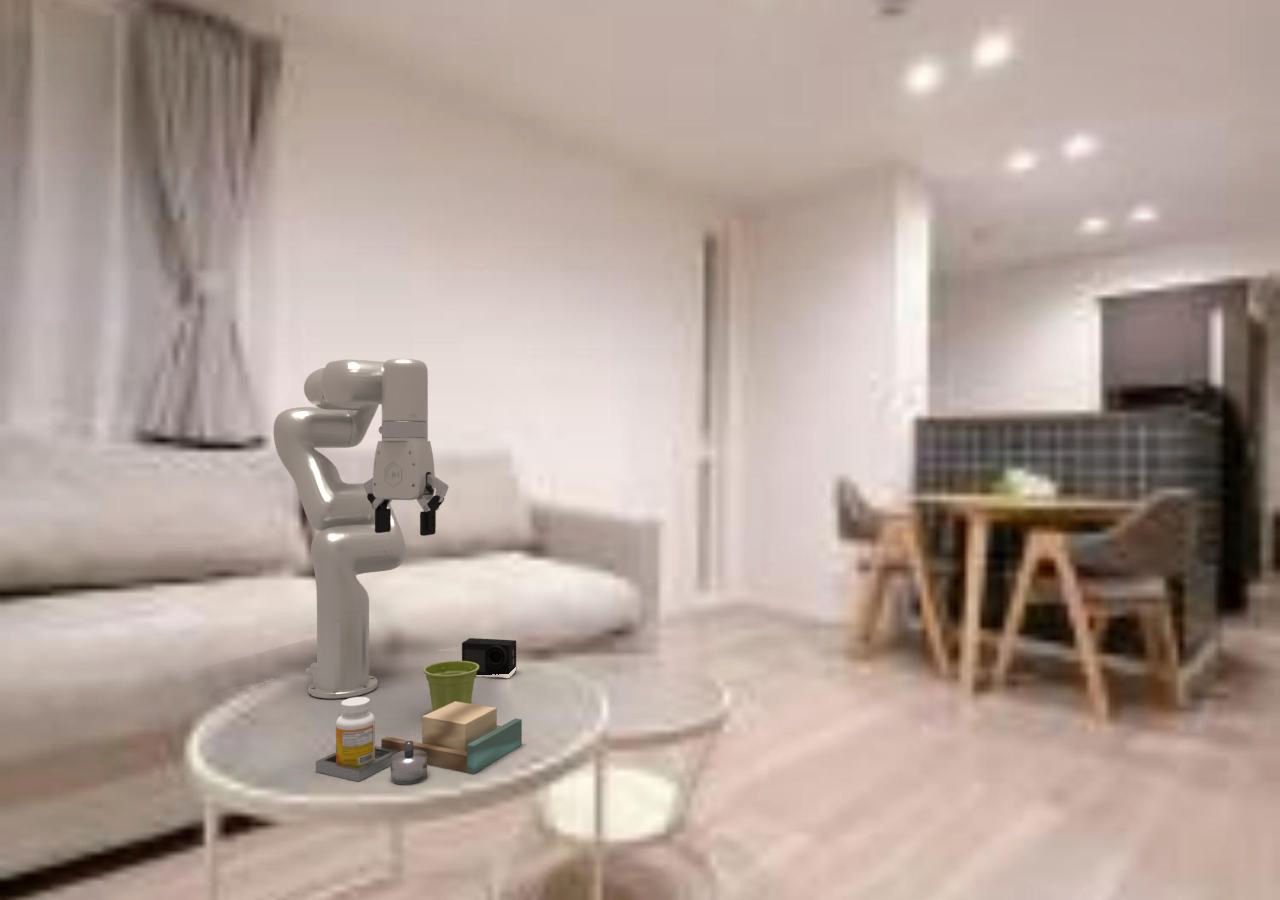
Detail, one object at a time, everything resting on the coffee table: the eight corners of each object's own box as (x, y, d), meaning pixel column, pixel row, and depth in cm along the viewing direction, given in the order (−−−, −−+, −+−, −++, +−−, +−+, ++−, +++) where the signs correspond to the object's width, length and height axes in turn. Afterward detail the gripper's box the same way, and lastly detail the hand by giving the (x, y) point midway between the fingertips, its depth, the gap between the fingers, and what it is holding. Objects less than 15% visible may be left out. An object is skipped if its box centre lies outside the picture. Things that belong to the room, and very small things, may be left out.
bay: (381, 754, 121) (381, 715, 121) (434, 728, 133) (434, 692, 133) (474, 774, 114) (473, 732, 114) (521, 744, 126) (521, 706, 126)
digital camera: (458, 677, 162) (458, 643, 162) (469, 670, 168) (469, 637, 168) (506, 680, 160) (506, 646, 160) (516, 673, 166) (516, 639, 166)
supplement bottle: (342, 760, 119) (341, 695, 119) (378, 759, 120) (378, 694, 120) (331, 775, 114) (331, 707, 114) (369, 773, 114) (369, 706, 114)
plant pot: (423, 711, 142) (423, 662, 142) (477, 706, 144) (476, 658, 144) (423, 729, 133) (423, 677, 133) (481, 723, 135) (481, 672, 135)
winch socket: (315, 771, 115) (315, 737, 115) (357, 752, 123) (357, 719, 123) (402, 791, 108) (402, 755, 108) (441, 769, 116) (441, 735, 116)
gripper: (349, 432, 135) (349, 533, 135) (431, 431, 128) (431, 538, 128) (381, 433, 142) (381, 529, 142) (460, 432, 135) (460, 533, 135)
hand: (405, 533), depth 135 cm, fingers open, 9 cm apart
